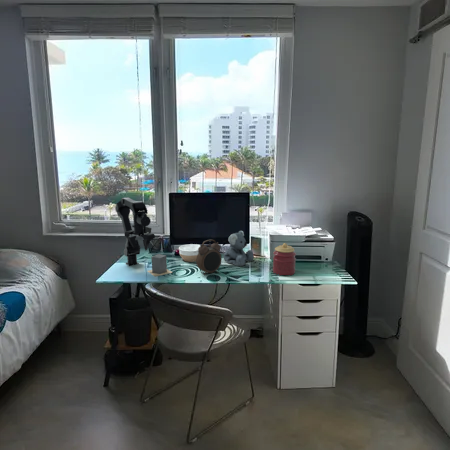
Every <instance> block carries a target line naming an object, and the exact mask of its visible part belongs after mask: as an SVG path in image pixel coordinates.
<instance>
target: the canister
mask: <svg viewBox="0 0 450 450" xmlns="http://www.w3.org/2000/svg"><path fill="white" fill-rule="evenodd" d="M272 254H273V257H272V273H273V274H275V273H276V274H275V275H277V274H279V275H278V276H281V275H290V276H293V275H294V274H295V273H296V261H297V258H296V256H297V253H296V251H295V248H294V247H293V246H291V245H288V244H287V242H284V243H283V244H282V245H281V244H280V245H278V246H276V247H274V251H273V252H272Z"/></svg>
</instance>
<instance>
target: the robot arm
mask: <svg viewBox="0 0 450 450" xmlns="http://www.w3.org/2000/svg"><path fill="white" fill-rule="evenodd" d="M114 210H115V212H116V213H117V215H116V216H118V217H119V218H120V219H121V223H122V227H123V232H124V237H125V240H126V242H125V244H124V249H123V255H124V256H125V257H126V258H127V259H126V260H127V262H125V264H126V265H127V266H128V267H132V266H136V265H139V264H140V263H139V262H138V257H137V256H138V255H140V252H141V245H140V243H139V241H138V239H136V238H137V237H139V238H142V239H143V240H142V243H143V247H144V250H145V251H148V248H149V245H150V243H151V241H152V240H154V239H155V237H156V236H155V233H152V227H148V226H150V224H151V218H150V217H149V216H148V213H149V211H148V208H147V206H146V204H145V202H144V201H142V200H138V201H136V200H134V199H132V198H130V197H129V196H127V197H121V199H120V200H119V201H118V202H117V203H116V205H115V209H114ZM131 212H132V217H133V224H131V219H130V214H131Z"/></svg>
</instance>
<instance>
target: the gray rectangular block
mask: <svg viewBox="0 0 450 450" xmlns="http://www.w3.org/2000/svg"><path fill="white" fill-rule="evenodd" d="M167 265H168V264H167V255H164V254H160V253H158V254H155V255H153V256H151V270H152V272H153V273H157V274H162V273H164V272H166V271H167V269H168V266H167Z"/></svg>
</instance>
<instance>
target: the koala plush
mask: <svg viewBox="0 0 450 450" xmlns="http://www.w3.org/2000/svg"><path fill="white" fill-rule="evenodd" d="M244 236H245V234H244V231H243V230H239V231H238V232H235V233H232V234H230V236H229V237H228V242H229V247H228V249H227V250H226V251H224V253H223V260H224V261H225V262H226V263H227V264H231V265H234V266H236V267H243V266H244V265H246V262H252V261H254V257H255V256H254V251H253V250H252V249H248V250H247V251H246V252H245V250H244V249H245V248H246V247H247V246H248V243H247V241H246V238H245V237H244Z"/></svg>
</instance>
